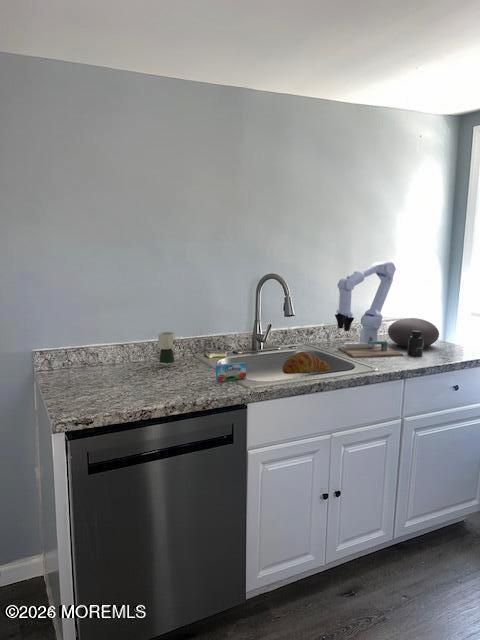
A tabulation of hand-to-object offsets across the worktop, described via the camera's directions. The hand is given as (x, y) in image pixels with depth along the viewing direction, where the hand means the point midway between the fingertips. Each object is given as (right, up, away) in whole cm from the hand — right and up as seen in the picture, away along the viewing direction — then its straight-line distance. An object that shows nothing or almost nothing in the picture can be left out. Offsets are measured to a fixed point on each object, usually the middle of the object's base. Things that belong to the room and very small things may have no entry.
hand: (343, 329), depth 234 cm
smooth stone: (+37, -9, +7) cm, 38 cm away
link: (+7, -9, -4) cm, 12 cm away
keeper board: (+11, -11, -8) cm, 17 cm away
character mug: (-83, -14, -34) cm, 91 cm away
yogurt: (-55, -18, -57) cm, 81 cm away
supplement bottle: (+31, -12, -13) cm, 36 cm away
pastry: (-25, -16, -42) cm, 52 cm away
